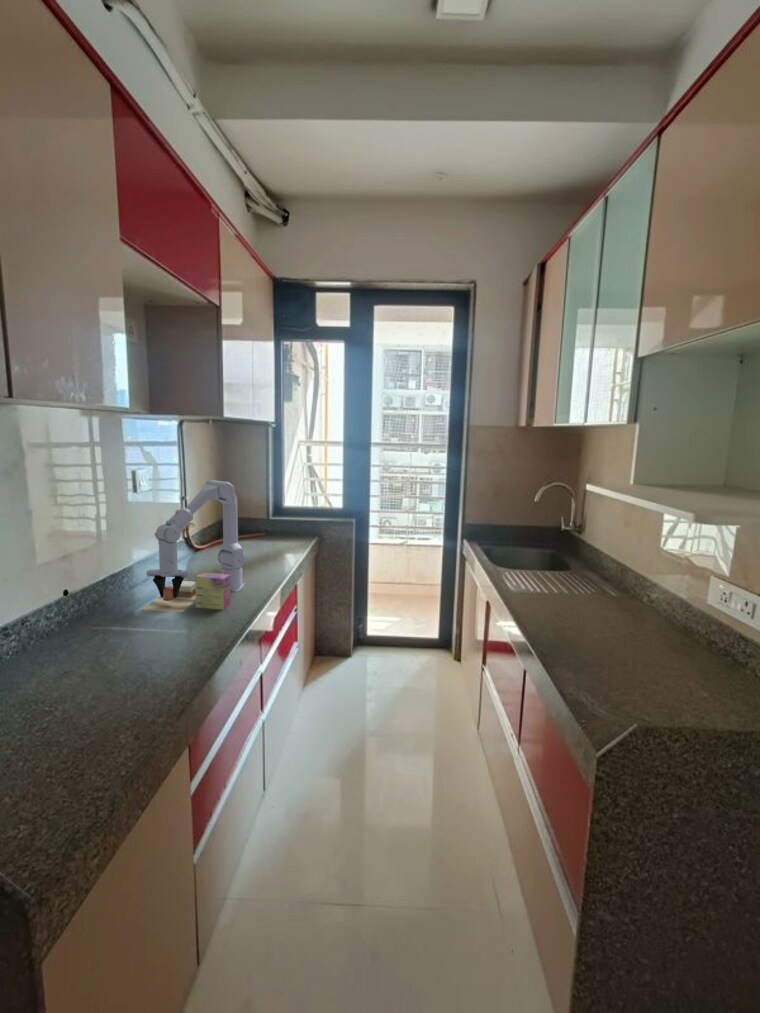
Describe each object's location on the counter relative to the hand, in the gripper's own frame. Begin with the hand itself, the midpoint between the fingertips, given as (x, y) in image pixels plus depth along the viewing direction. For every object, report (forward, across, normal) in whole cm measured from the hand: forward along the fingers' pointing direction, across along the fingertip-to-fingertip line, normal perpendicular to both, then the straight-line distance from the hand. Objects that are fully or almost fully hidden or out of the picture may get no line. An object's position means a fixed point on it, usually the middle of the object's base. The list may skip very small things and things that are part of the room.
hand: (169, 596), depth 165 cm
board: (+4, 0, +6) cm, 7 cm away
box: (+4, +15, +1) cm, 15 cm away
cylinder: (+1, 0, 0) cm, 1 cm away
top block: (+1, +1, +12) cm, 12 cm away
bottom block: (+3, +1, +12) cm, 12 cm away
